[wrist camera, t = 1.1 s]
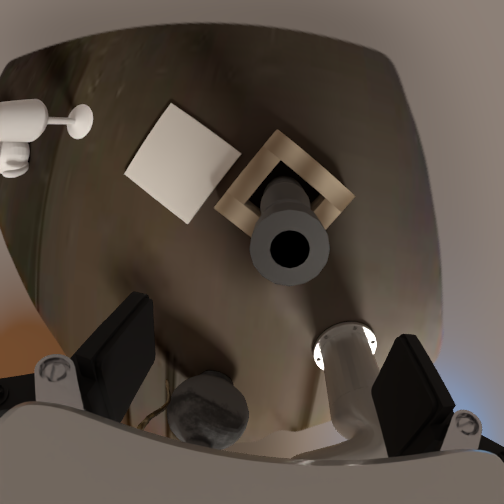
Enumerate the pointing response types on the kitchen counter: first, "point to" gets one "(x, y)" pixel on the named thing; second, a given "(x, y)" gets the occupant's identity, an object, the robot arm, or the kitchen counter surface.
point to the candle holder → (288, 235)
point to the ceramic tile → (181, 163)
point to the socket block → (257, 170)
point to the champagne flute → (39, 120)
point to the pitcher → (205, 411)
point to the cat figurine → (14, 158)
